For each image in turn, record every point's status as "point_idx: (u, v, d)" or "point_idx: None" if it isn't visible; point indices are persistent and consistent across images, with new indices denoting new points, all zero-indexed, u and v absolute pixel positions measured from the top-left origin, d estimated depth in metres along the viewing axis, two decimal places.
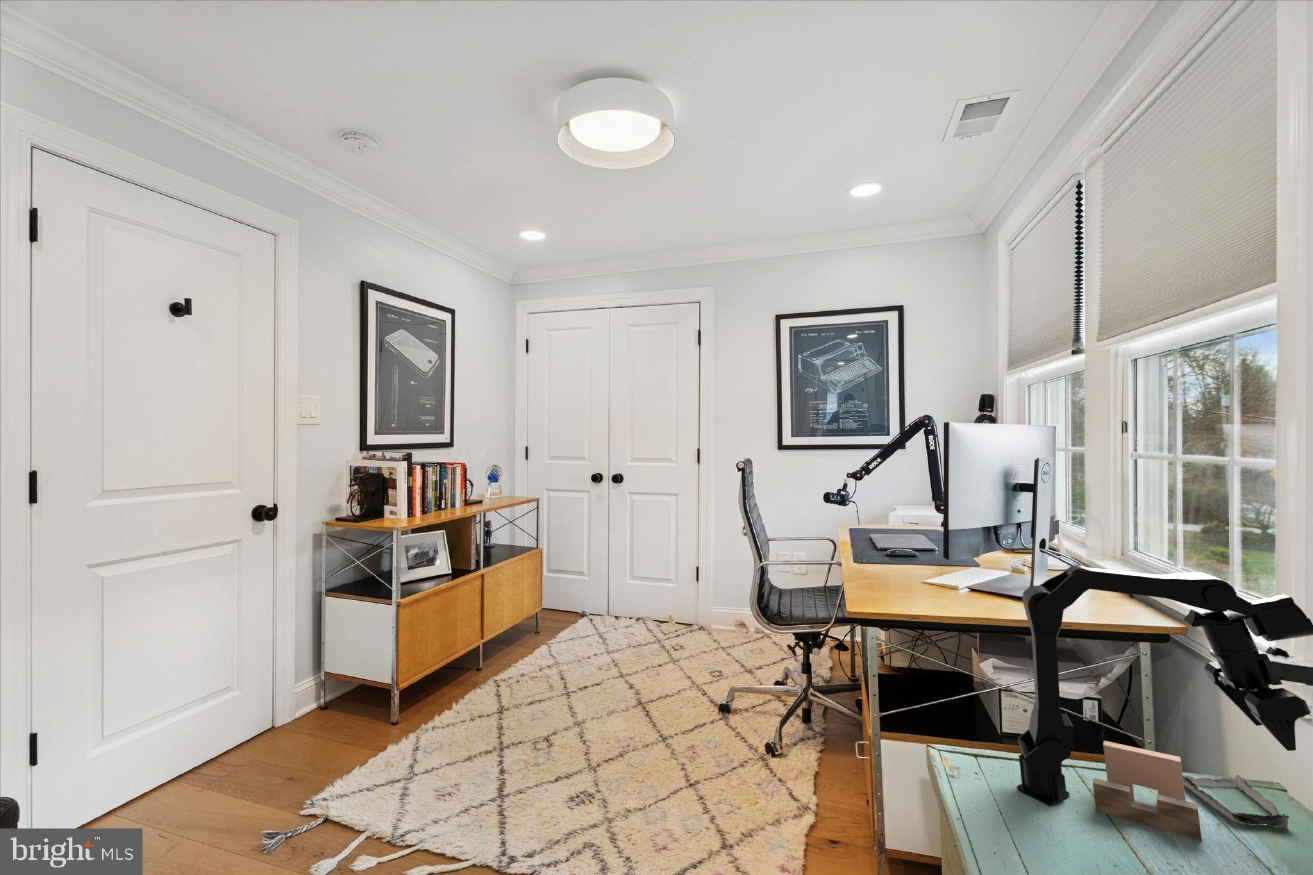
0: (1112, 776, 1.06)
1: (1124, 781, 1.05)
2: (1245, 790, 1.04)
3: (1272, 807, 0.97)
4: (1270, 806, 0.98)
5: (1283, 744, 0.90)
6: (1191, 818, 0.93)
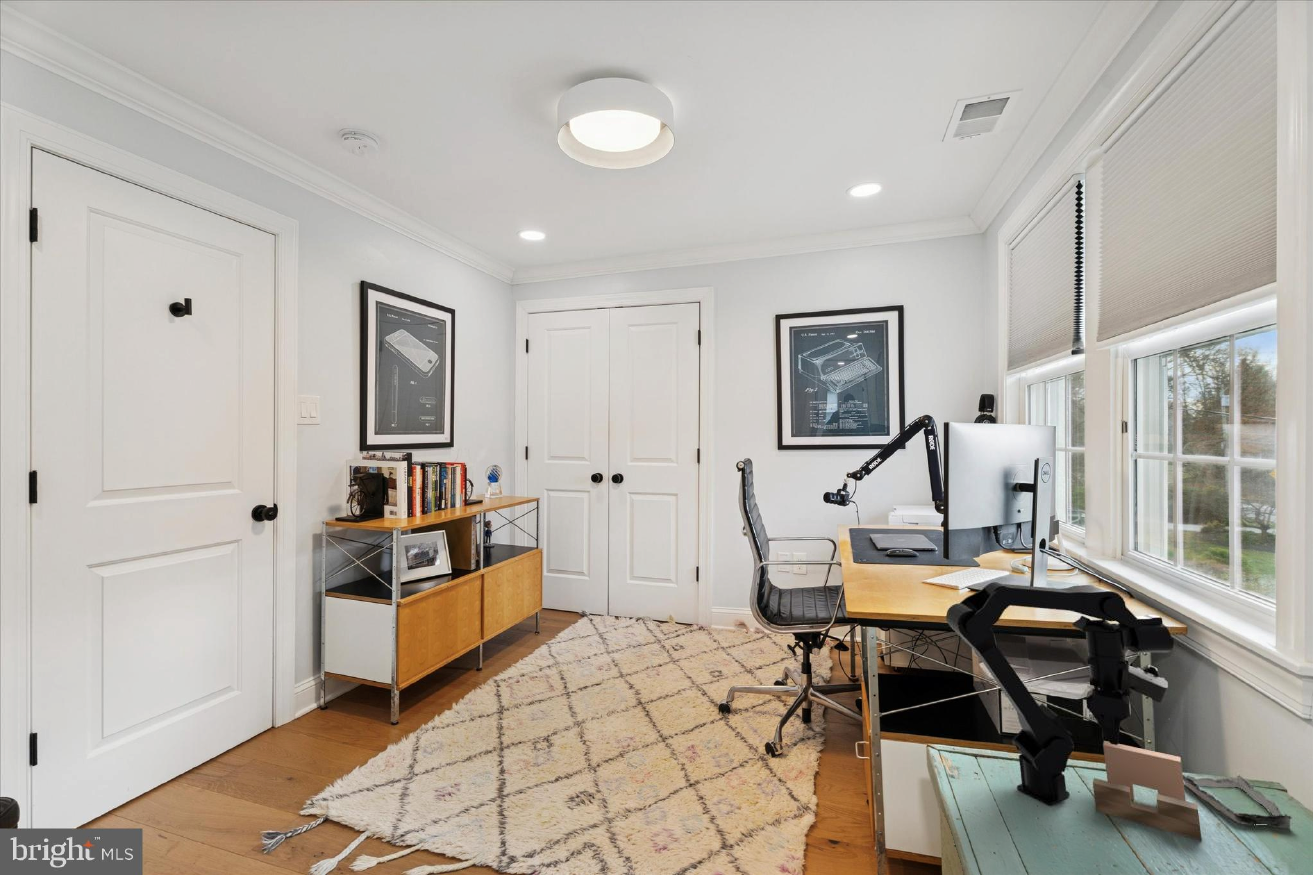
0: (1112, 776, 1.06)
1: (1124, 781, 1.05)
2: (1246, 790, 1.04)
3: (1274, 807, 0.97)
4: (1271, 806, 0.98)
5: (1107, 737, 1.04)
6: (1191, 818, 0.93)
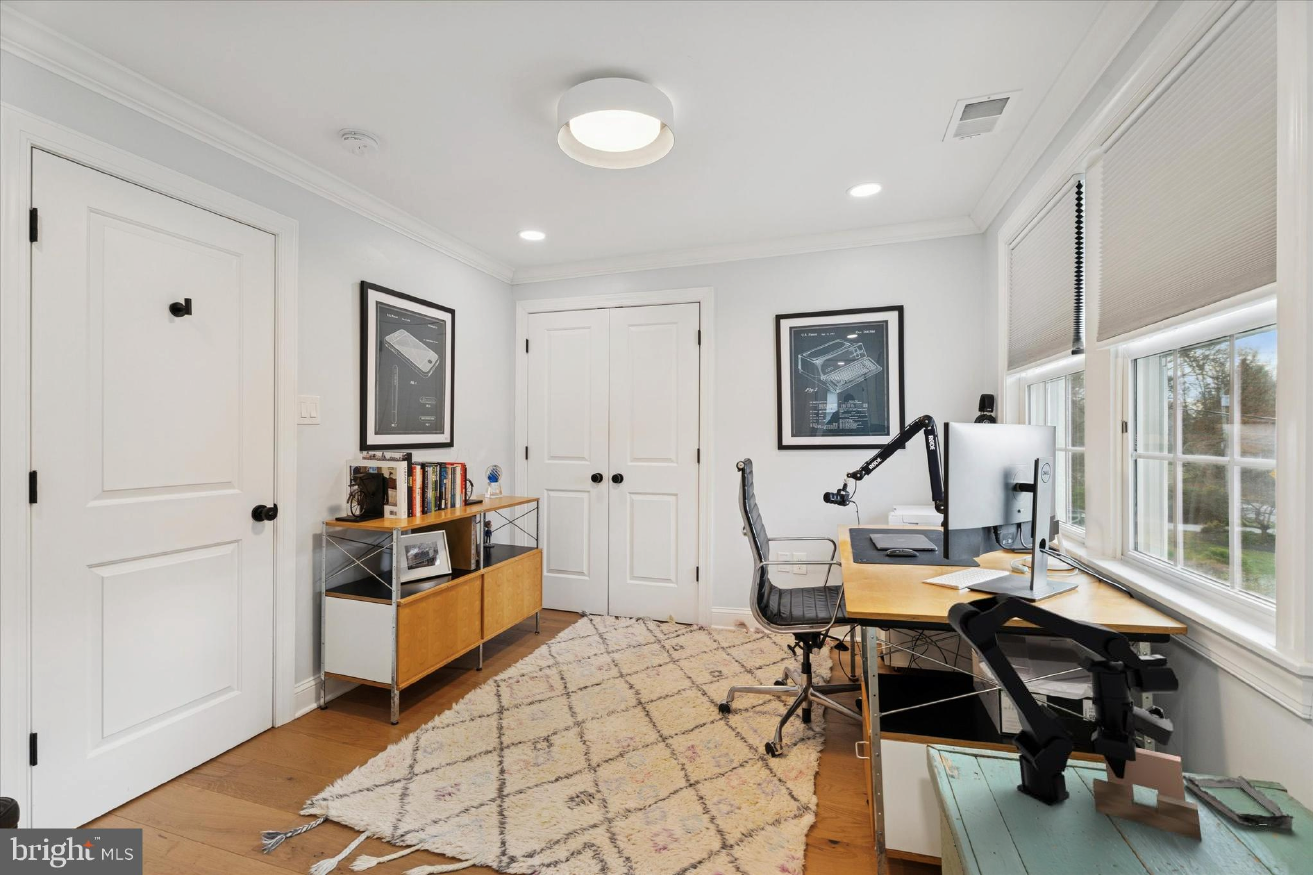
0: (1112, 776, 1.06)
1: (1124, 781, 1.05)
2: (1248, 790, 1.04)
3: (1276, 807, 0.97)
4: (1273, 806, 0.98)
5: (1113, 771, 1.06)
6: (1191, 818, 0.93)
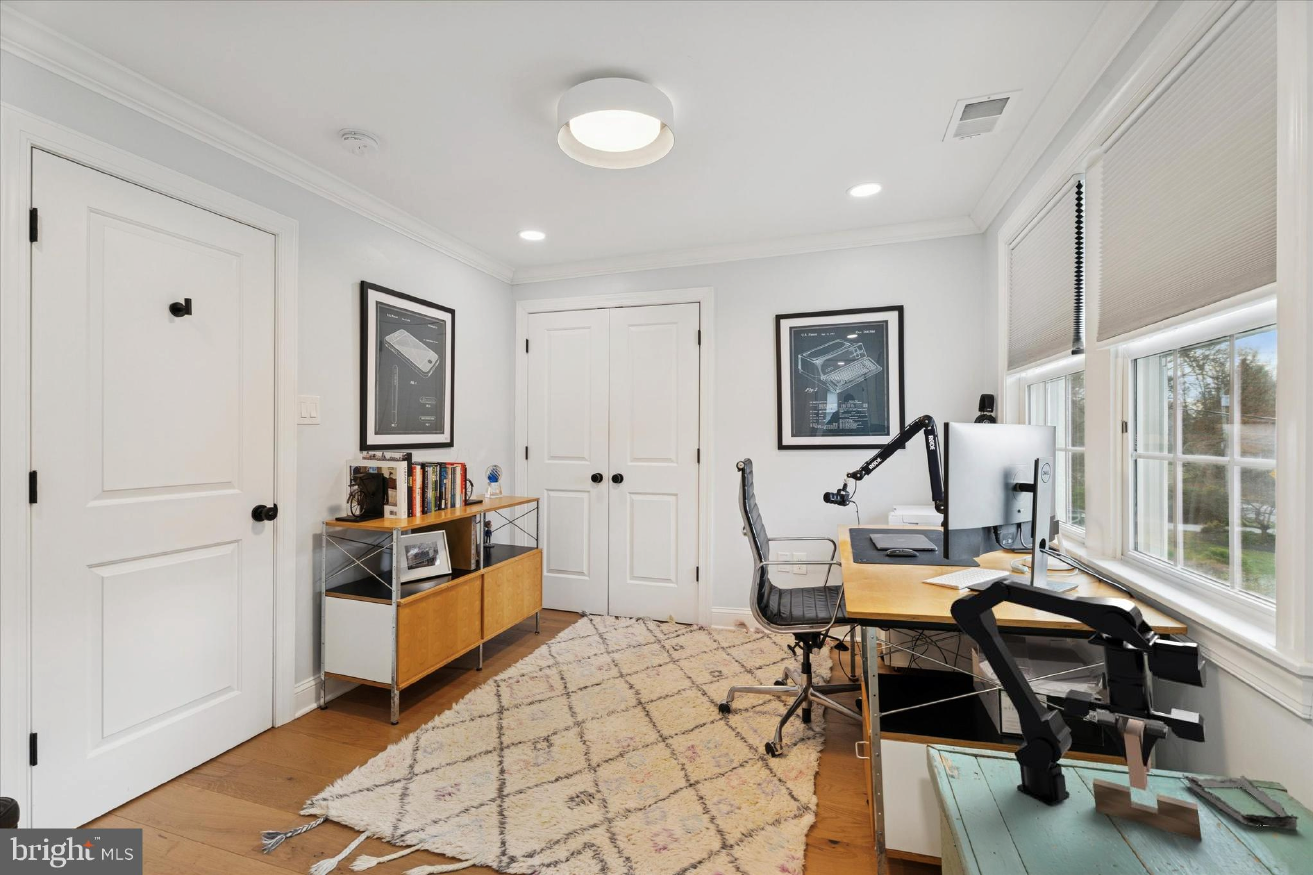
0: (1143, 768, 0.96)
1: (1145, 767, 0.97)
2: (1250, 791, 1.03)
3: (1280, 807, 0.97)
4: (1277, 806, 0.98)
5: None
6: (1191, 818, 0.93)
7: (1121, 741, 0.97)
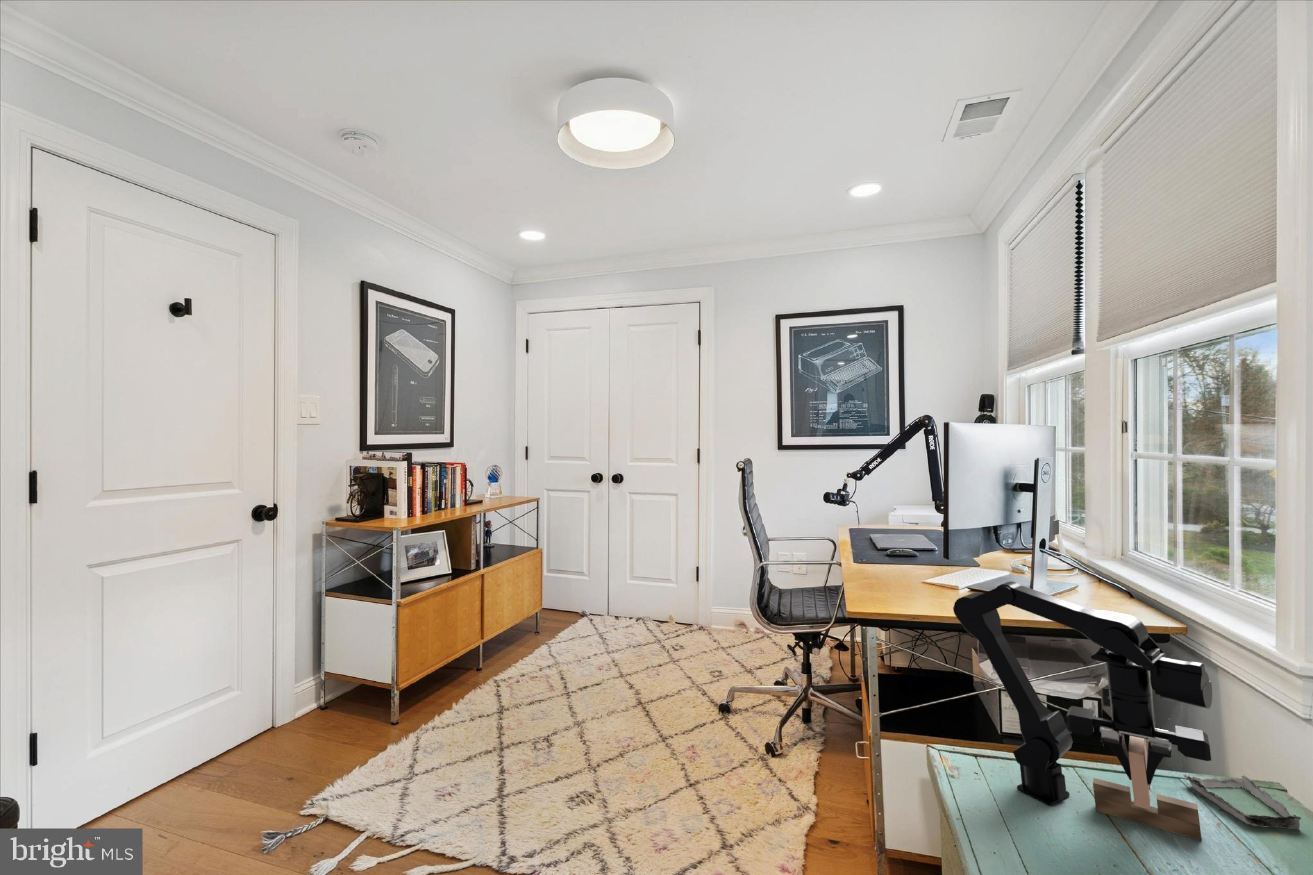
0: (1147, 787, 0.94)
1: (1148, 785, 0.96)
2: (1252, 791, 1.03)
3: (1282, 807, 0.97)
4: (1279, 807, 0.97)
5: None
6: (1191, 818, 0.93)
7: (1125, 759, 0.96)
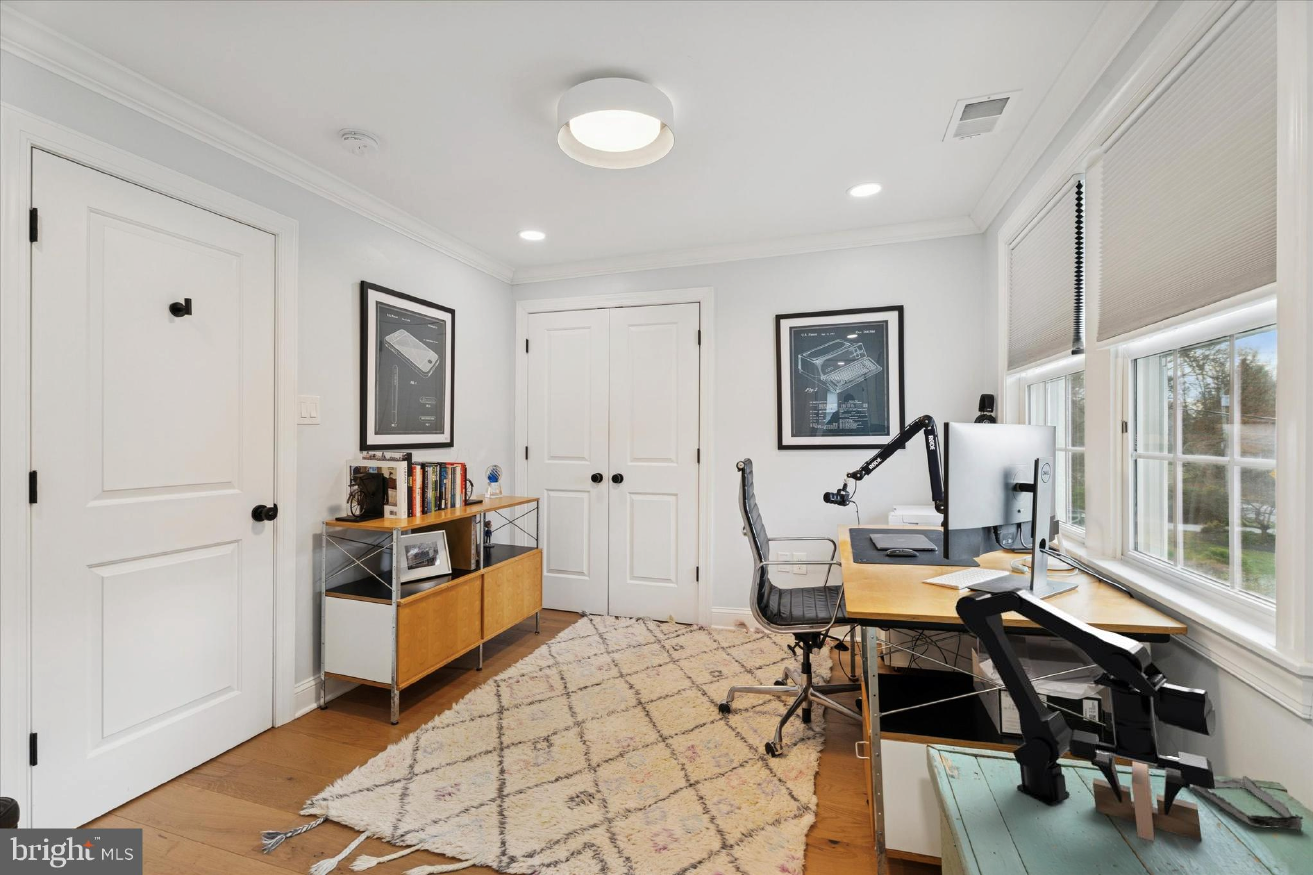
0: (1151, 818, 0.94)
1: (1151, 815, 0.95)
2: (1253, 791, 1.03)
3: (1284, 807, 0.97)
4: (1281, 807, 0.97)
5: (1169, 809, 0.93)
6: (1191, 818, 0.93)
7: (1115, 782, 0.97)
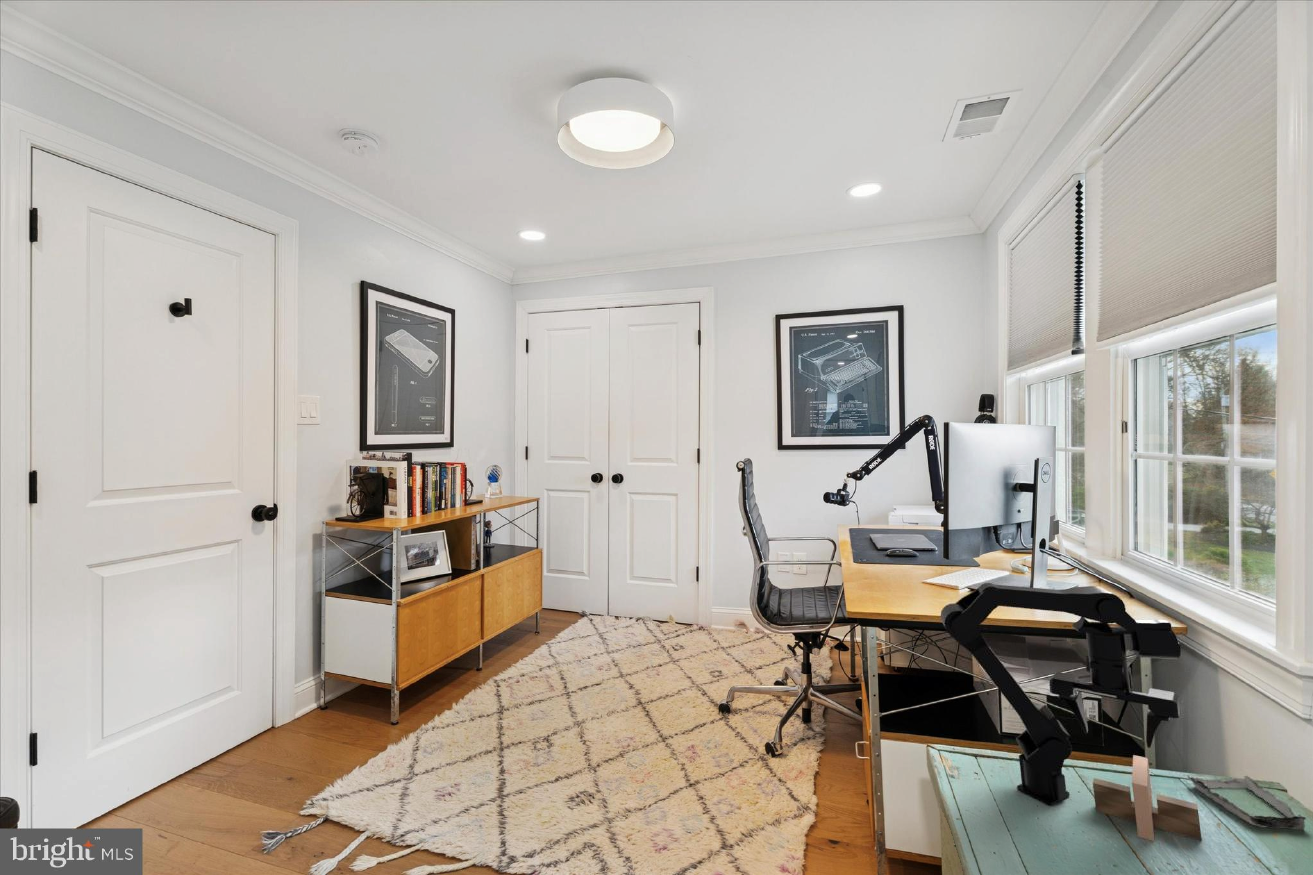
0: (1151, 818, 0.94)
1: (1151, 815, 0.95)
2: (1255, 791, 1.03)
3: (1286, 808, 0.97)
4: (1283, 807, 0.97)
5: (1151, 742, 1.00)
6: (1191, 818, 0.93)
7: (1080, 714, 1.07)
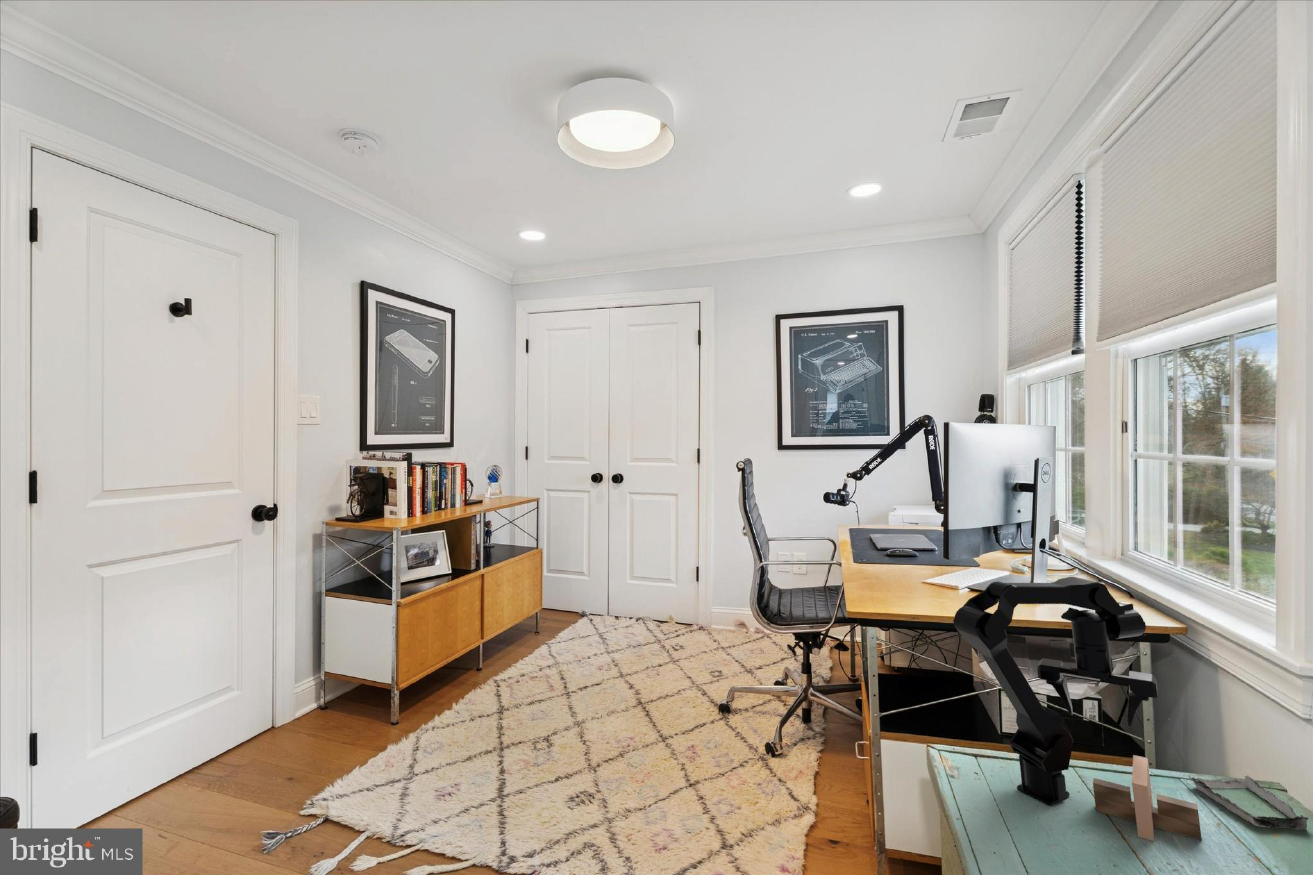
0: (1151, 818, 0.94)
1: (1151, 815, 0.95)
2: (1256, 791, 1.03)
3: (1288, 808, 0.97)
4: (1285, 807, 0.97)
5: (1132, 721, 1.07)
6: (1191, 818, 0.93)
7: (1066, 697, 1.13)
